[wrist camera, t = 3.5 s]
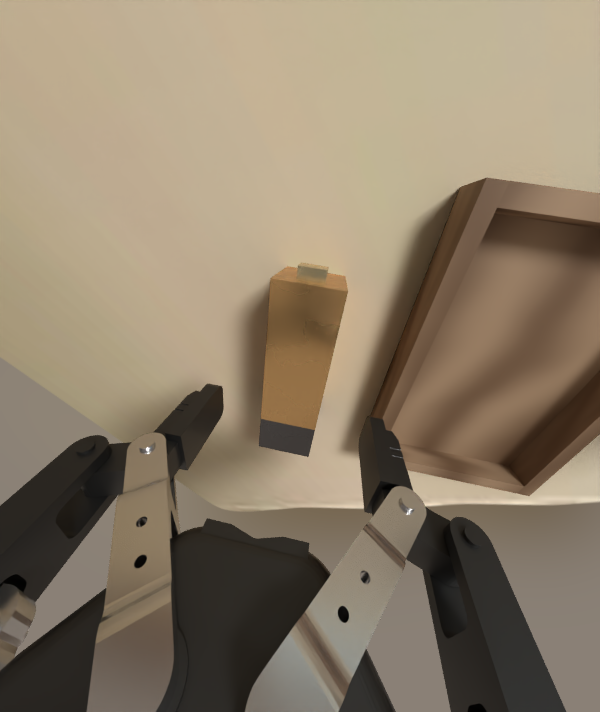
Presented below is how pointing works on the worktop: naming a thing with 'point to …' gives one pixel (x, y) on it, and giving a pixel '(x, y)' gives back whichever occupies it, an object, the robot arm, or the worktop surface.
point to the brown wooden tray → (502, 340)
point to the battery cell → (299, 353)
